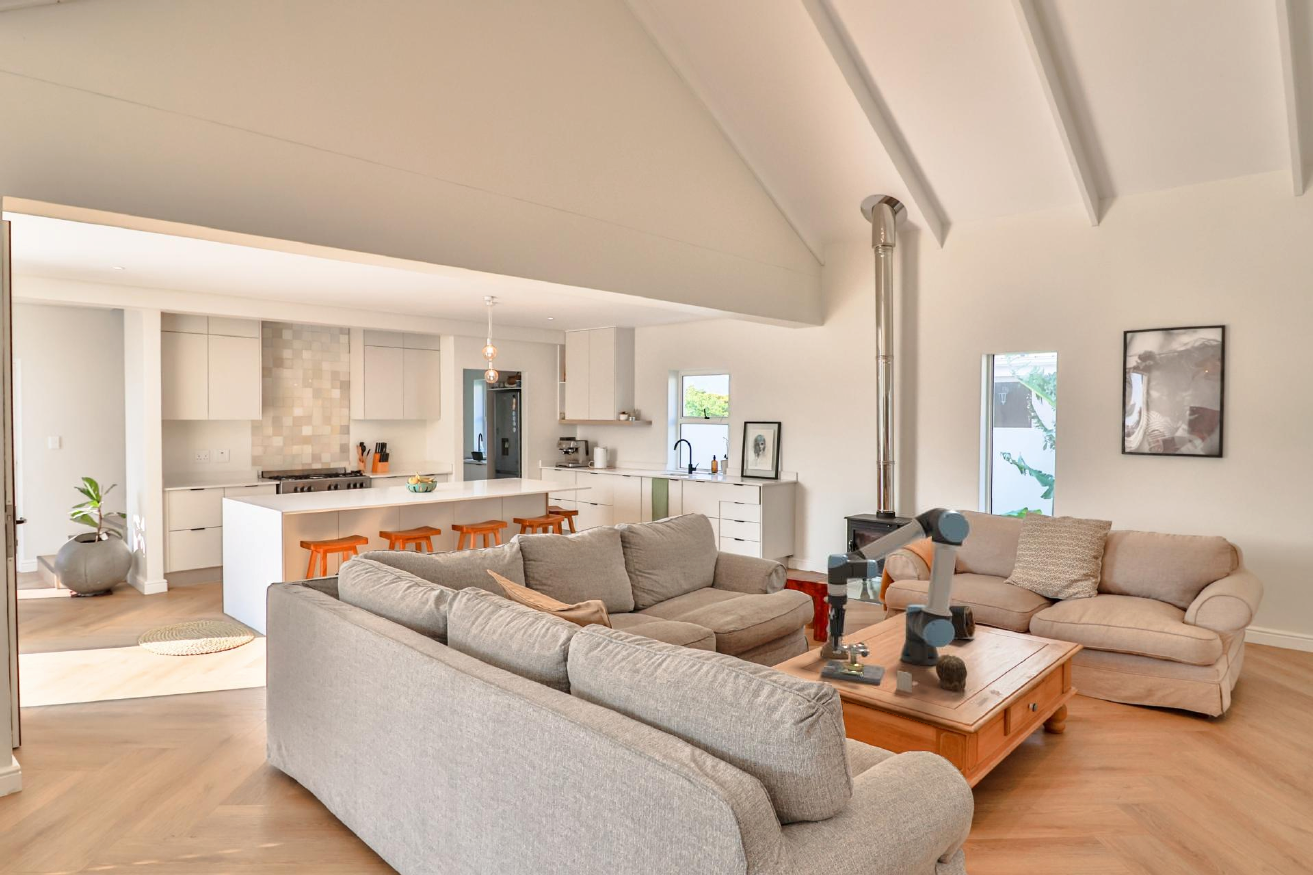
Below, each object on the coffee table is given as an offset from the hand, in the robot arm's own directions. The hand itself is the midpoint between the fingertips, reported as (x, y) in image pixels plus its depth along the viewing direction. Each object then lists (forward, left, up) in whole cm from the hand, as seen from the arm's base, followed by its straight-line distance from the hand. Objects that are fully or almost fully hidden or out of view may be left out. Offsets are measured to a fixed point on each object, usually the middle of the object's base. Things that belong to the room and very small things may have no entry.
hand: (836, 652), depth 311 cm
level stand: (-7, +1, -8) cm, 10 cm away
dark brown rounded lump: (-43, +2, -8) cm, 43 cm away
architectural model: (-27, +11, -8) cm, 30 cm away
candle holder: (+4, -23, -8) cm, 25 cm away
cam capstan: (-5, +1, -5) cm, 8 cm away
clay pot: (-38, -74, -8) cm, 83 cm away
